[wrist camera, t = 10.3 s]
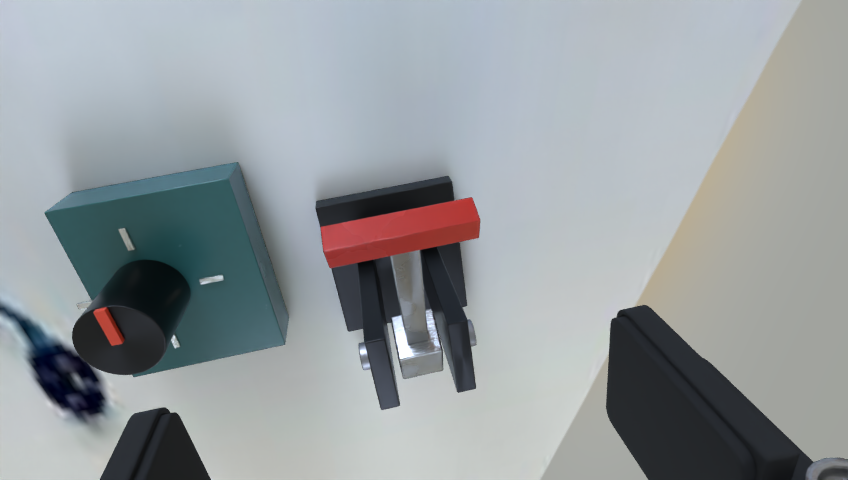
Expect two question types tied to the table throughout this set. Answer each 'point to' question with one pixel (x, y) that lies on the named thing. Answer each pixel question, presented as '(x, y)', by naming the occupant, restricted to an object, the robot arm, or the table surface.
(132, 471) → the robot arm
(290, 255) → the table surface
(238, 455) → the table surface
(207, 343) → the dial panel
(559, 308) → the table surface
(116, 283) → the knob
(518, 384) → the table surface
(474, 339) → the black upright frame
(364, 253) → the toaster lever
